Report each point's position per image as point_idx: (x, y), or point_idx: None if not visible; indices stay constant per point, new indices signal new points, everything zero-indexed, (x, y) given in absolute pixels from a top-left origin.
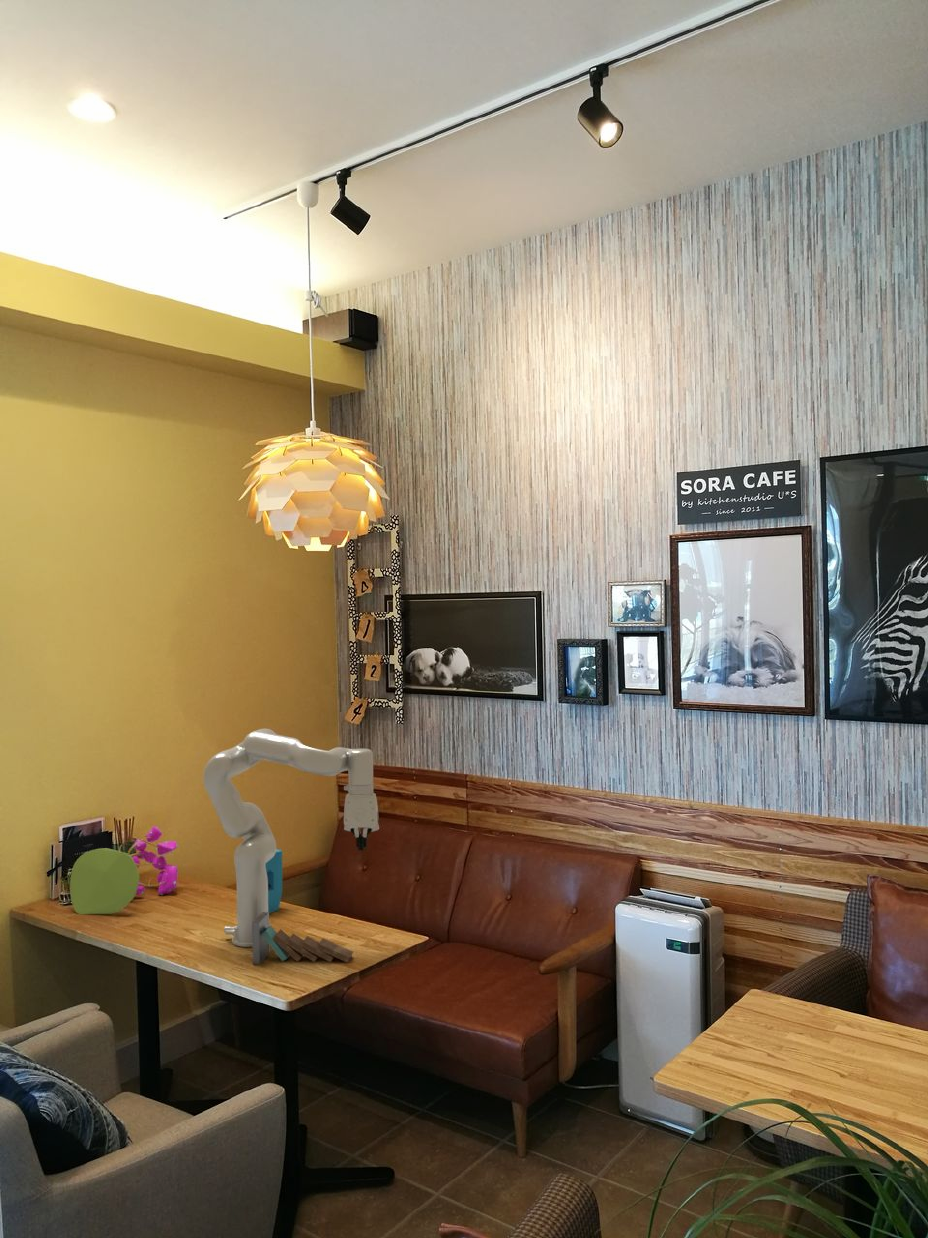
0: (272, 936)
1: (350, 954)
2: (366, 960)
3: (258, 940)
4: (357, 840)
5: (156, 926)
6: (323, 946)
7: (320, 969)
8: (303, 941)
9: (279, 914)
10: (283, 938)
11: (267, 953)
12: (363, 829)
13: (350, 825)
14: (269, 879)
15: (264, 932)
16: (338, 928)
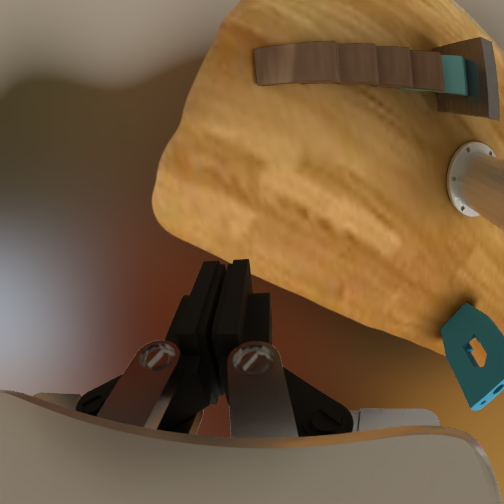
0: (444, 63)
1: (257, 65)
2: (222, 71)
3: (459, 42)
4: (256, 329)
5: None
6: (320, 41)
7: (307, 15)
8: (373, 46)
9: (440, 313)
10: (422, 62)
11: (438, 97)
12: (144, 421)
13: (368, 474)
14: (472, 359)
15: (462, 57)
16: (338, 260)
